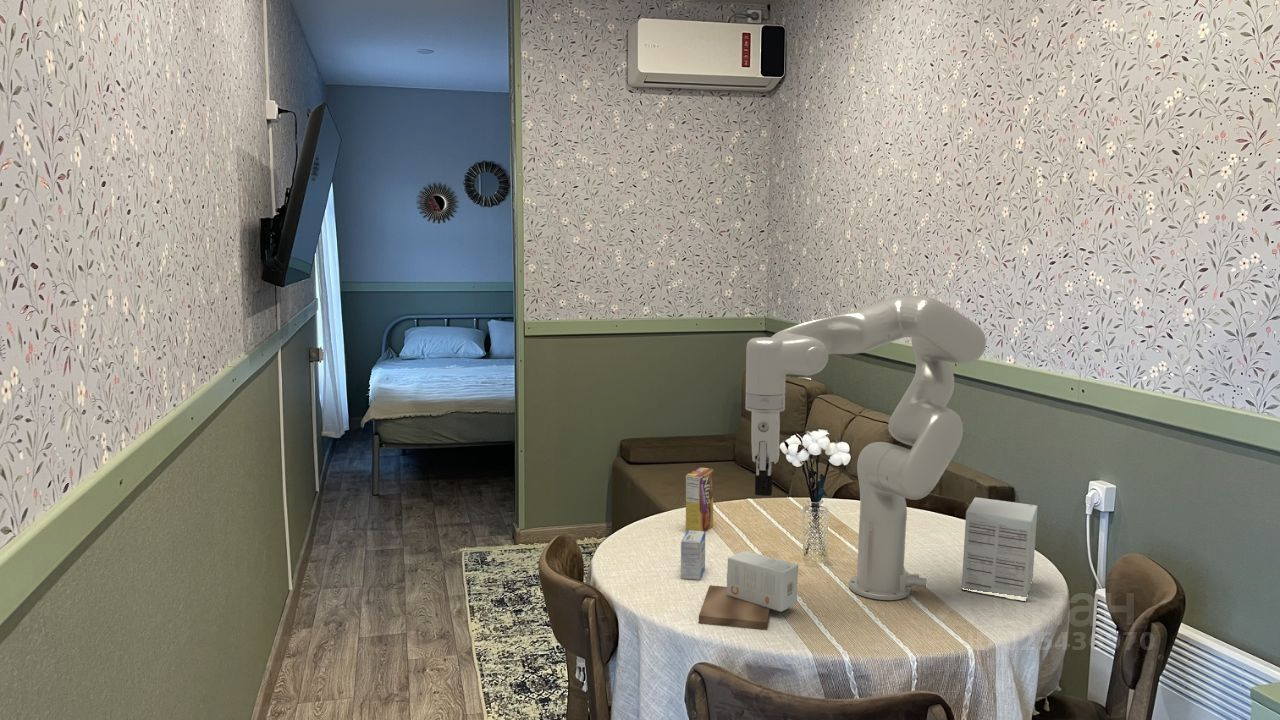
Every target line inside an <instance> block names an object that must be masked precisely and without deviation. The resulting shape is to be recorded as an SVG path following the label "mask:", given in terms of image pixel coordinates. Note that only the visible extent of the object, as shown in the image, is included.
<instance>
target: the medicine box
mask: <svg viewBox="0 0 1280 720" xmlns="http://www.w3.org/2000/svg"><path fill="white" fill-rule="evenodd" d="M705 567H706V531H705V532H704V531H692V530H690V531H687V532H686V531H685V534H684V536H683V538H682V540H681V542H680V579H684V580H693V581H694V580H695V581H696V580H697V581H701V580H702V576H703V573H704V571H705Z"/></svg>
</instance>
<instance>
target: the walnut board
mask: <svg viewBox="0 0 1280 720" xmlns="http://www.w3.org/2000/svg"><path fill="white" fill-rule="evenodd" d="M707 588H708V589H707V592H706V593H705V597H704V600H703V603H702V605H701V607H700V608H701V609H700V610H699V611H700V612H699V614H698V623H699V624H703V623H704V624H706V625H716V626H726V627H734V628H735V627H736V628H744V629H745V628H747V629H755V630H768V624H769V619H770V612H771V609H770V608H767V607H763V606H760V605H757V604H754V603H751V602H748V601H744V600H741V599H738V598H735V597H731V596H728V595H727V586H724V585H723V586H720V585H712V584H711V585H709V586H708V587H707Z"/></svg>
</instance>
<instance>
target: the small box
mask: <svg viewBox="0 0 1280 720" xmlns="http://www.w3.org/2000/svg"><path fill="white" fill-rule="evenodd" d="M726 569H727V570H726V587H727V595H728V596H731V597H735V598H738V599H741V600H744V601H748V602H751V603H754V604H757V605H760V606H763V607H767V608H770V610H774V611H777V612H780V613H781V612H783V611H785V610H787V609H789V608H790V607H792V606H794V605H795V604H797V603H798V582H799V581H798V577H799V576H798V575H799V573H798V572H799V564H797V563H792V562H789V561H785V560H781V559H779V558H775V557H771V556H766V555H762V554H759V553H754V552H751V551H747V550H742V551H740V552H738V553H735V554H733V555H731V556H728V557H727V568H726Z"/></svg>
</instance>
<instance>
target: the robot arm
mask: <svg viewBox="0 0 1280 720" xmlns="http://www.w3.org/2000/svg"><path fill="white" fill-rule="evenodd" d="M905 338H911V340H910V341H911V346H912V350H913V354H914V358H915V372H914V373H915V374H914V376H913V378H912V380H911V382H910V385H909V386H908V388H907V389H906V391H905V393H904V394H903V396H902V398H901V399H900V401H899V403H898V404H897V406H896V407H895V409H894V410H893V412H892V414H891V416H890V419H889V420H888V421H889V422H888V432H889V434H890V435H891V437H893V439H895V440H896V441H898V442H901V443H903V444H905V445H909V446H910V447H911V446H912V447H911V448H910V449H909V448H906V447H904V446H901V445H897V444H893V443H890V442H886V441H885V442H884V441H875V442H871V443H869V444H867V445H866V446H864V447H863V449H861V452H859V454H858V458H857V463H856V465H857V466H856V471H857V478H858V479H857V480H858V484H859V499H860V500H859V501H860V503H859V504H860V505H859V523H858V524H859V525H858V526H859V527H858V545H857V565H856V567H857V568H856V575H855V576H852V577H850V578H849V581H848V586H849V588H850V590H851V591H852V592H853V593H855V594H857V595H859V596H861V597H864V598H868V599H872V600H879V601H896V600H901V599H904V598H907V597H908V596H910V595H911V586H913V587H914V586H915V587H920V588H922V587H923V588H927V577H920V574H917V573H908V572H907V571H906V568H905V553H906V551H905V549H906V535H907V534H906V532H907V520H908V517H907V515H908V510H907V502H906V501H907V500H906V499H908V500H914V501H915V500H921V499H923V498H925V497H927V496H928V495H929V494H930V493H931V492H932V491H933V490H934V488H935V487H936V485H937V484H938V483H939V481H940V480H941V478H942V476H943V475H944V472H945V471H946V469H947V468H948V466H949V464H950V462H951V461H952V459H953V458H954V455H955V454H956V453H957V450H958V448H959V447H960V445H961V442H962V439H963V434H964V429H963V428H964V425H963V421H962V419H961V417H960V415H959V414H958V413H957V412H956V411H955V410H953V409H951V408H949V407H947V406H948V403H949V401H950V399H951V397H952V395H953V393H954V389H955V375H954V372H953V366H952V363H956V364H962V365H963V364H964V365H965V364H968V365H969V364H972V363H974V362H977V361H978V360H979V359H980V358H982V356H983V355H984V353H985V350H986V347H987V346H986V345H987V339H986V335H985V333H984V331H983V329H982V328H981V327H980V326H979V324H978V323H976V322H974V321H973V320H971V319H970V318H968V317H966V316H965V315H963V314H962V313H960V312H959V311H957V310H956V309H954V308H953V307H951V306H949V305H947V304H946V303H945V302H942V301H941V300H940V299H936V298H934V297H930V296H920V295H919V296H918V295H906V294H903V295H896V296H892V297H889V298H887V299H884V300H881V301H878V302H876V303H874V304H870V305H867V306H864V307H862V308H859V309H857V310H856V309H855V310H854V311H851V312H847V313H842V314H837V315H832V316H829V317H824V318H820V319H815V320H811V321H806V322H803V323H799V324H796V325H793V326H791V327H788V328H785V329H782V330H780V331H777V332H776V333H774V334H773V335H772V336H770V337H765V336H762V337H760V336H759V337H752V338H750V339H749V340H748V341H747V343H746V351H745V352H746V353H745V354H746V355H745V356H746V358H745V363H746V364H745V365H746V366H745V410H747V411H749V412H751V425H750V426H751V427H750V428H751V430H750V431H751V436H750V437H751V439H750V440H751V457H752V462H753V463H755V464H756V465H755V467H756V469H755V470H756V473H755V475H754V477H755V478H754V494H755V496H762V497H763V496H766V497H770V496H772V495H773V473H772V463H773V462H774V463H773V464H777V463H778V462H779V459H780V458H779V457H780V441H781V440H780V432H781V427H780V426H781V425H780V424H781V423H780V422H781V417H780V415H781V414H780V412H784V411H785V409H786V377H787V376H786V375H796V376H797V375H798V376H813V375H816V374H818V373H821V372H822V371H823V369H825V367H826V365H827V364H828V361H829V355H854V354H862V353H867V352H869V351H872V350H874V349H876V348H879V347H882V346H884V345H887V344H890V343H892V342H896V341H897V340H900V339H905Z"/></svg>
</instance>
